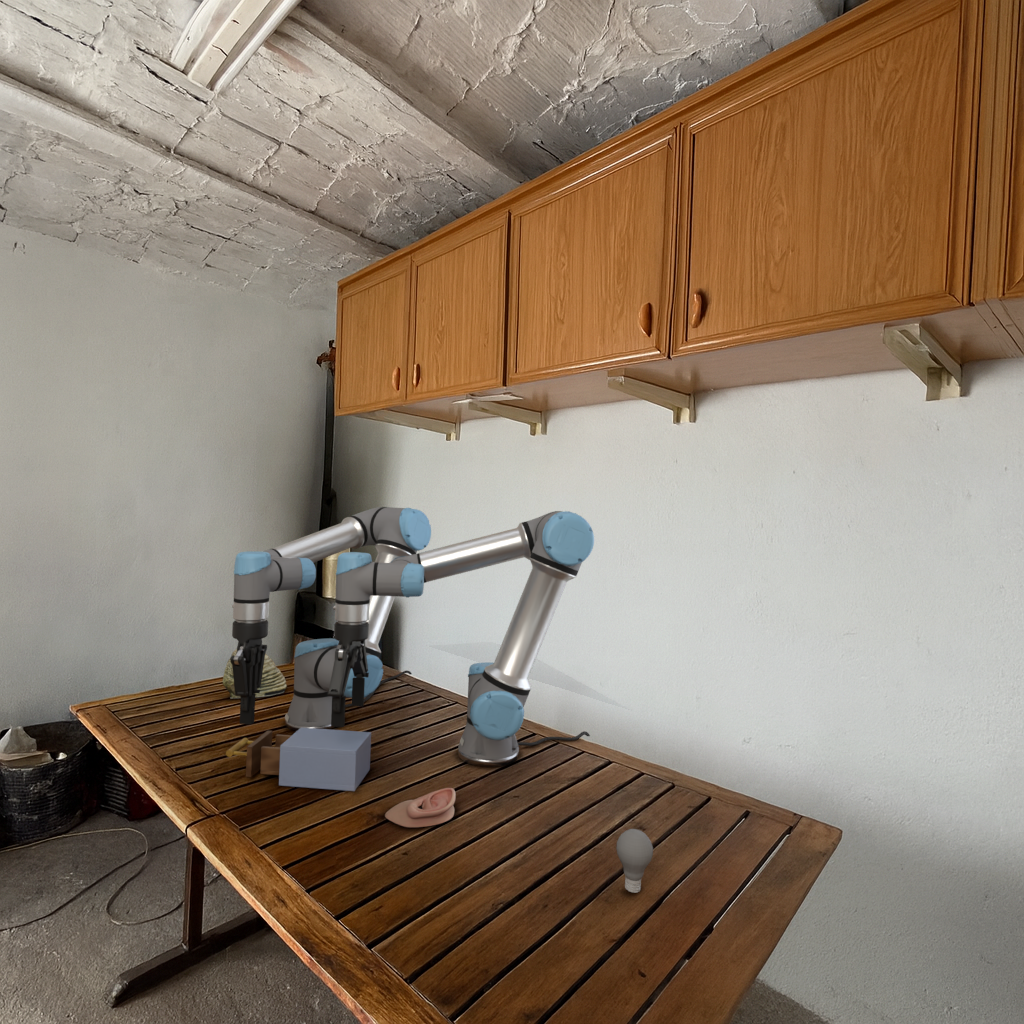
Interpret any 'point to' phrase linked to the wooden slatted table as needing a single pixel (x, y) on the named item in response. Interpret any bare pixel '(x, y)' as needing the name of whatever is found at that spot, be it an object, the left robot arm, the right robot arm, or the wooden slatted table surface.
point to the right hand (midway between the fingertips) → (348, 715)
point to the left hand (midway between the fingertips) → (246, 722)
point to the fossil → (270, 680)
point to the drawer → (260, 753)
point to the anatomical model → (424, 809)
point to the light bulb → (634, 857)
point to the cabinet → (325, 759)
